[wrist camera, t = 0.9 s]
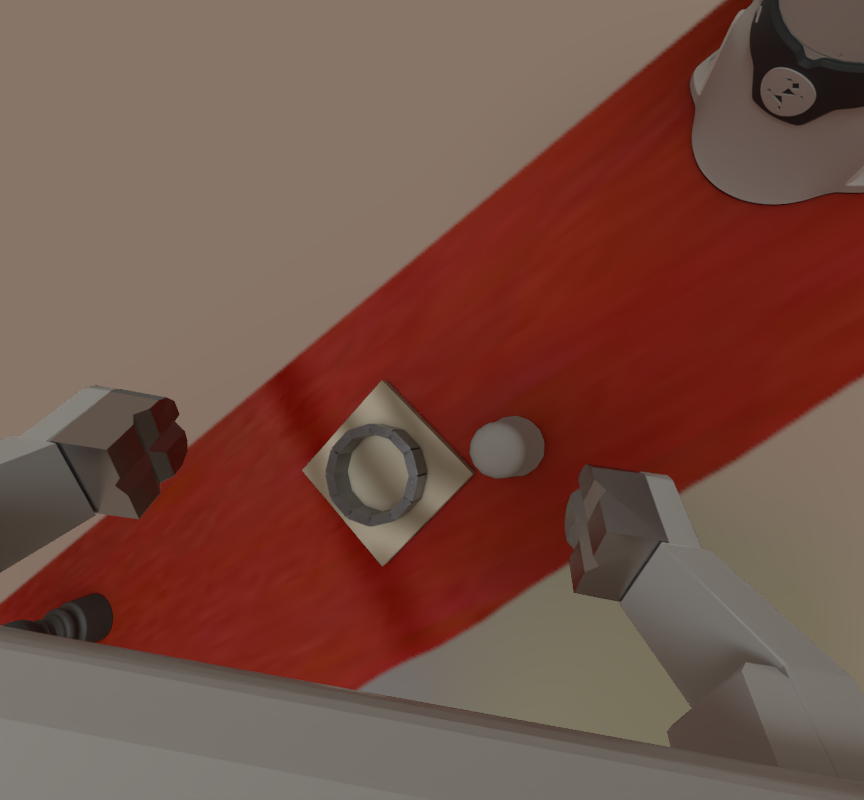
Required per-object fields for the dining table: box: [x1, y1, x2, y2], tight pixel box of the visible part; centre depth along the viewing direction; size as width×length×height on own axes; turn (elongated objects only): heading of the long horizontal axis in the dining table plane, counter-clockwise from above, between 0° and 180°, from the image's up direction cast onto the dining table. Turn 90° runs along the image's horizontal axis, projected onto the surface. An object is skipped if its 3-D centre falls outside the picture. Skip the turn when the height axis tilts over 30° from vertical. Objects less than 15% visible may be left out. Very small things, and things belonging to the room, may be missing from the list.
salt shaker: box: [470, 416, 545, 479], centre depth 39 cm, size 6×6×13 cm
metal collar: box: [325, 424, 428, 527], centre depth 46 cm, size 10×10×3 cm
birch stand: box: [302, 380, 476, 567], centre depth 48 cm, size 14×14×2 cm
